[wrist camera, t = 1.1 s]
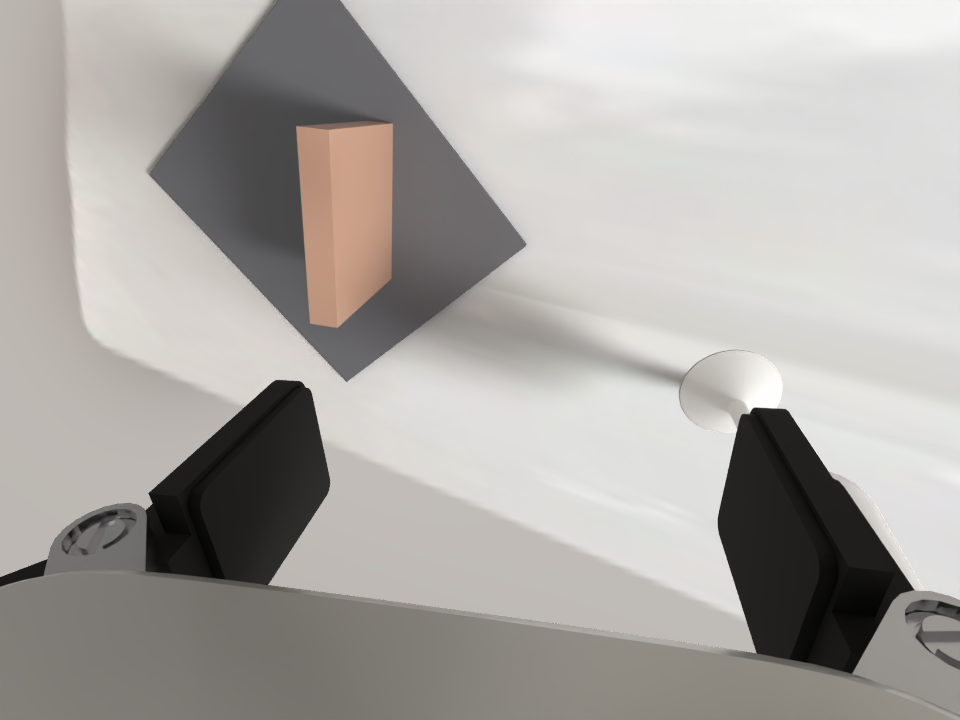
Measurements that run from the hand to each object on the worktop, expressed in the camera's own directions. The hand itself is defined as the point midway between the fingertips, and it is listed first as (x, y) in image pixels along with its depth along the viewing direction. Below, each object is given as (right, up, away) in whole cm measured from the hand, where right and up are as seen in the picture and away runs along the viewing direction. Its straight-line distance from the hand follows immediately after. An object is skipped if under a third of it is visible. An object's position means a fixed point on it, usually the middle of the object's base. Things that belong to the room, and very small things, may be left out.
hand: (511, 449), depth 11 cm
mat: (-11, +12, +24) cm, 29 cm away
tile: (-7, +12, +23) cm, 27 cm away
